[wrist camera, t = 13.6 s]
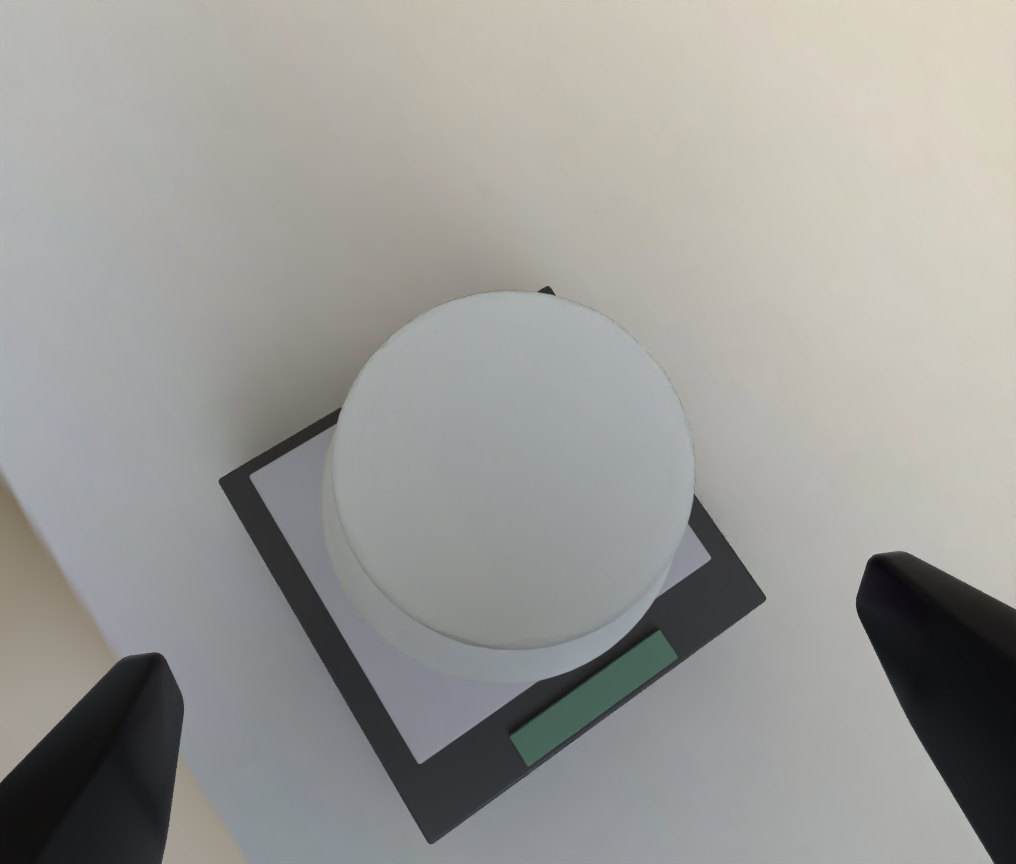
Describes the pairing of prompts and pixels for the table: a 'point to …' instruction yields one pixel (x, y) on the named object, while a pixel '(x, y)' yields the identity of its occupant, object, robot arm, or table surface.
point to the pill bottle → (507, 487)
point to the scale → (452, 701)
